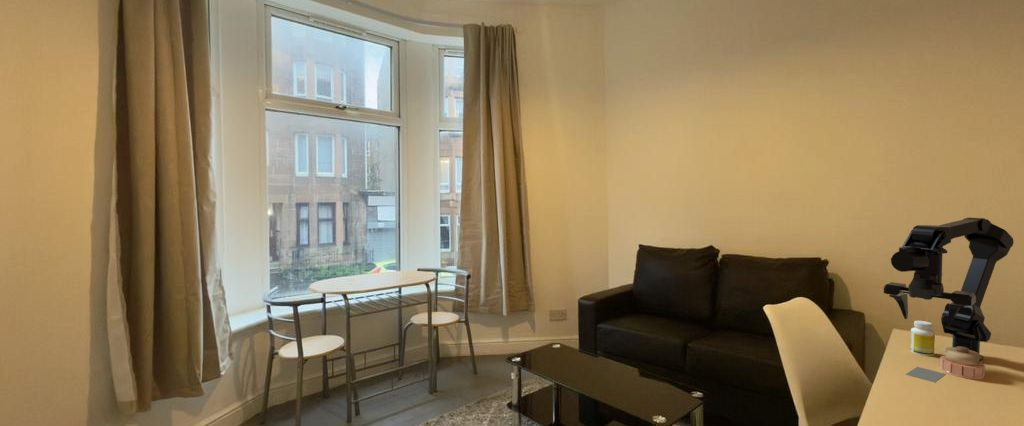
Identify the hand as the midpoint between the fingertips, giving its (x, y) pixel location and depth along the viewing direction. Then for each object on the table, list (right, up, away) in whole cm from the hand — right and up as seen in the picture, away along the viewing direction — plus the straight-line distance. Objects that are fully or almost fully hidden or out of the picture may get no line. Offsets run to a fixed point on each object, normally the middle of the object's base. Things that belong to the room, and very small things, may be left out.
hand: (926, 322), depth 128 cm
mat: (-7, -13, -7) cm, 16 cm away
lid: (+3, -9, -7) cm, 12 cm away
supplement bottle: (+6, -12, +8) cm, 15 cm away
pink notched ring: (+3, -12, -7) cm, 15 cm away
